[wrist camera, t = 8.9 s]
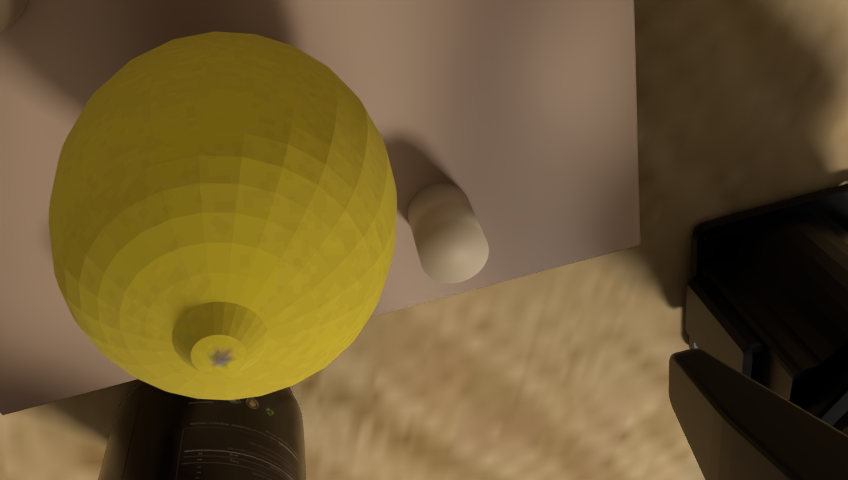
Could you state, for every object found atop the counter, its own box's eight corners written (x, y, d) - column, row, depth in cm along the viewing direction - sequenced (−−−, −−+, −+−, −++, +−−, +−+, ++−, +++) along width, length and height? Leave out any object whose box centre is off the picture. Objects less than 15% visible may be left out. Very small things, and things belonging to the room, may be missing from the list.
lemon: (274, 261, 17) (270, 547, 11) (59, 136, 15) (-122, 409, 8) (420, 97, 16) (522, 313, 9) (208, -77, 13) (133, 46, 6)
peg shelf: (543, -326, 15) (679, -388, 10) (582, 171, 23) (673, 287, 17) (-250, -132, 15) (-547, -90, 10) (49, 311, 22) (-26, 476, 17)
